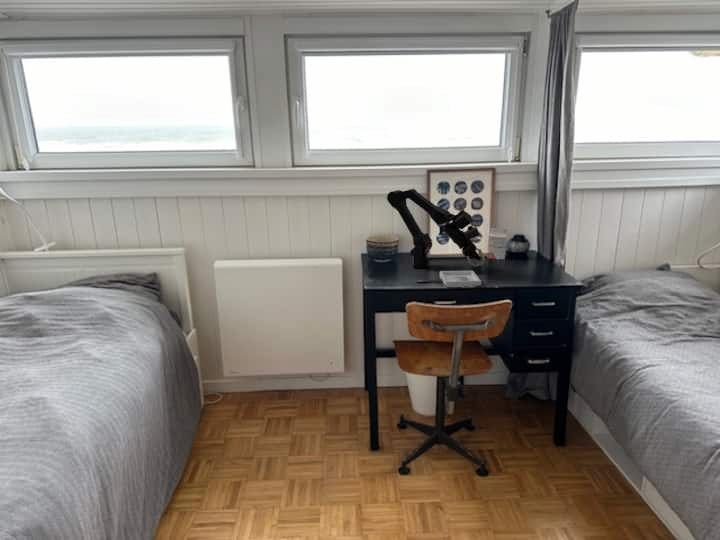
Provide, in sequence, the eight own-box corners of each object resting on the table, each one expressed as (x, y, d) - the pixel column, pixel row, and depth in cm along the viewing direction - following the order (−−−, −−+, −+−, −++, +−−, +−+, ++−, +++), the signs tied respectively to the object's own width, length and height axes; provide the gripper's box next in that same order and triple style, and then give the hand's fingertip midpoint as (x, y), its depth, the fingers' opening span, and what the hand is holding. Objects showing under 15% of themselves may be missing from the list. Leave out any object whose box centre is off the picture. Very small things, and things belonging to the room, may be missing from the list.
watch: (485, 274, 219) (486, 250, 216) (467, 273, 220) (468, 250, 216) (483, 270, 225) (484, 247, 221) (465, 270, 225) (466, 246, 222)
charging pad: (418, 288, 202) (418, 282, 202) (413, 277, 216) (413, 271, 215) (481, 287, 203) (481, 281, 202) (472, 276, 217) (472, 270, 216)
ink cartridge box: (486, 258, 243) (488, 229, 238) (487, 256, 247) (489, 227, 243) (504, 260, 240) (506, 230, 236) (505, 257, 244) (507, 228, 240)
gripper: (472, 226, 207) (497, 251, 209) (465, 217, 224) (488, 240, 227) (452, 244, 210) (477, 268, 212) (448, 234, 227) (470, 256, 230)
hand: (479, 258), depth 220 cm, fingers closed on watch, 5 cm apart
